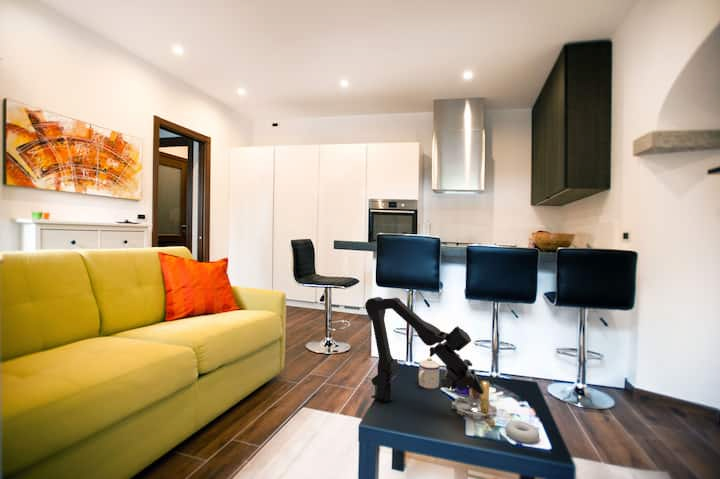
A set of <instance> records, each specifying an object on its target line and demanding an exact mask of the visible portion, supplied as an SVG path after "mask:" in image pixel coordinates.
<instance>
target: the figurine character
mask: <svg viewBox="0 0 720 479" xmlns="http://www.w3.org/2000/svg"><path fill="white" fill-rule="evenodd" d="M458 378H459V377H458ZM458 378H457V379H458ZM457 379H456V380H455V379H454V380H453V382H452V384H451V387H450V390H451V391H450V392H452V391H454V392H453V393H459V392H460V394H464V395H468V396H469V397H475V399H479V400H480V395H481V394H479V393H478V392H476V391H475V390H474V389H472V388H470V387H469V386H467V387H466V388H465V389H463V390H462V391H460V390H459V389H458V388H457ZM477 379H478V381H479V384H480V385H481V381H485V380H483V379H480V378H477ZM454 389H455V390H454Z"/></svg>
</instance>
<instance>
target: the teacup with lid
mask: <svg viewBox="0 0 720 479" xmlns="http://www.w3.org/2000/svg"><path fill="white" fill-rule="evenodd" d="M418 368H419V369H418V385H419V386H420V387H422V388H425V389H430V390H431V389H437V388H439V385H440V369H441V365H440V363H439V362H436V360H433V358H432V357H427V358H426V359H424V360H422V361H420V362H418Z"/></svg>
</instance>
